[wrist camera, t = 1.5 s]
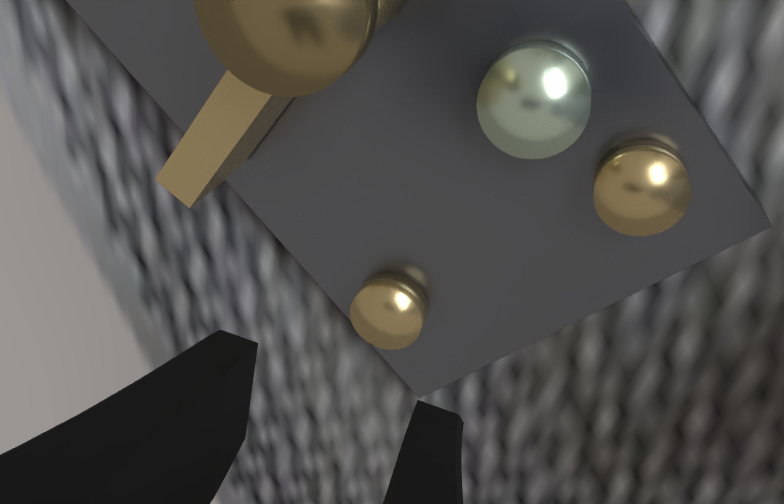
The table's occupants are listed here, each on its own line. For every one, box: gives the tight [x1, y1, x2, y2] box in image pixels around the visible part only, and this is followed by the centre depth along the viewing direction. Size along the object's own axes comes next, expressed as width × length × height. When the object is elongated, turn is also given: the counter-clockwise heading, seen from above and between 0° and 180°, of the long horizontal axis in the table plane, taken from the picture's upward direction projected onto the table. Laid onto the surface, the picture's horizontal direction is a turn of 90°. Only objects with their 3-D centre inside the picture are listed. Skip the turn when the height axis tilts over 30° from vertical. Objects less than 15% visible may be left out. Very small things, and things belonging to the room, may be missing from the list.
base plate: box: [66, 0, 772, 398], centre depth 16 cm, size 16×10×3 cm, turn 41°
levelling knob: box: [155, 0, 405, 208], centre depth 14 cm, size 7×3×4 cm, turn 141°
